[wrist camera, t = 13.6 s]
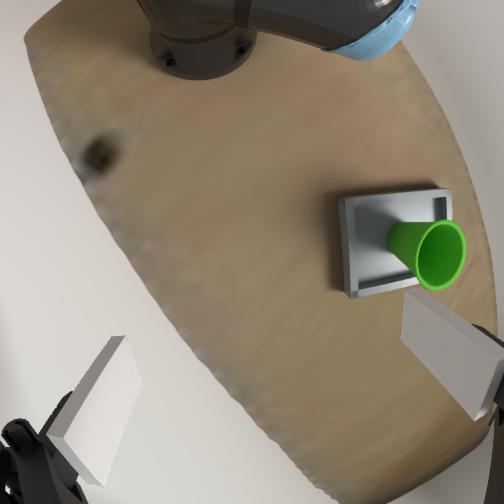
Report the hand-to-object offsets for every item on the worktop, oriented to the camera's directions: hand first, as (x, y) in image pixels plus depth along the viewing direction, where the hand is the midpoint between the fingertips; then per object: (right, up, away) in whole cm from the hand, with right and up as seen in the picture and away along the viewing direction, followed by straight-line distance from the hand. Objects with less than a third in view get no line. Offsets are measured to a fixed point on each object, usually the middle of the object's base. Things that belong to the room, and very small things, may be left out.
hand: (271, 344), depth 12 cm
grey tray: (+22, +6, +29) cm, 37 cm away
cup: (+22, +6, +28) cm, 36 cm away
